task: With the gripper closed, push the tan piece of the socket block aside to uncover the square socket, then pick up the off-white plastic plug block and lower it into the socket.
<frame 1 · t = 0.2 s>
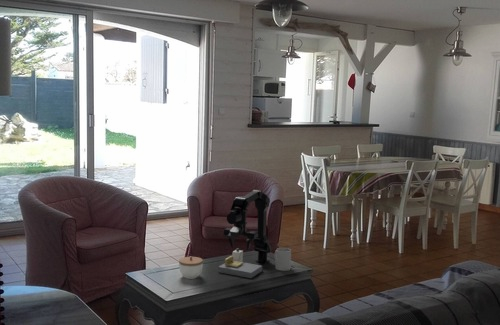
hand: (240, 248, 280), 14 cm above the table, fingers open, 9 cm apart
tan piece: (234, 261, 288), point 5 cm above the table, slide at 0.0 cm
lidded bowl: (190, 277, 276), on the table
mug: (281, 268, 295), on the table
plug: (237, 264, 299), on the table
socket block: (240, 271, 287), on the table
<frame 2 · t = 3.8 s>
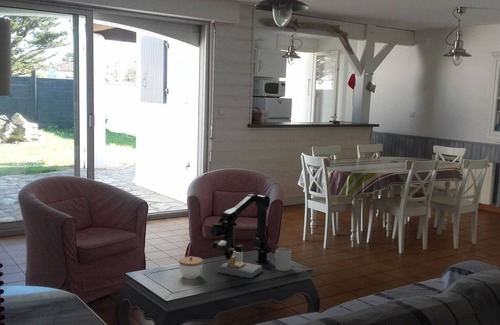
hand: (228, 261, 290), 4 cm above the table, fingers closed
tan piece: (236, 261, 287), point 5 cm above the table, slide at 1.5 cm, touching gripper
everything else where it was.
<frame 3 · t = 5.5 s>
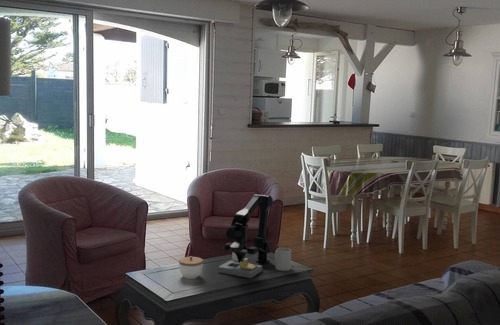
hand: (240, 263, 286), 4 cm above the table, fingers closed
tan piece: (249, 264, 284), point 5 cm above the table, slide at 9.2 cm, touching gripper
everything else where it was.
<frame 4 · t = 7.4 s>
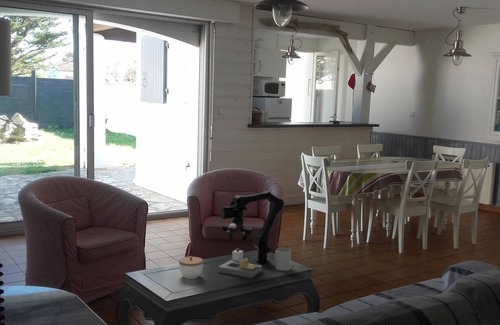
hand: (237, 244, 297), 12 cm above the table, fingers open, 6 cm apart
tan piece: (249, 264, 284), point 5 cm above the table, slide at 9.3 cm
everything else where it was.
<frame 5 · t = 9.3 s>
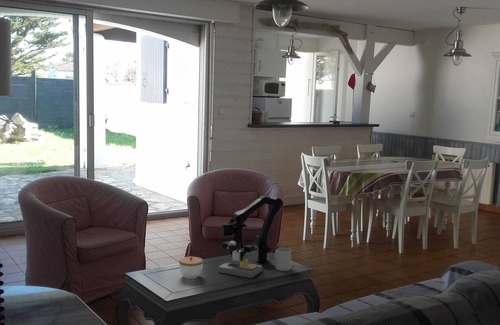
hand: (237, 261, 298), 2 cm above the table, fingers closed on plug, 4 cm apart
plug: (237, 264, 299), on the table, touching gripper
everything else where it was.
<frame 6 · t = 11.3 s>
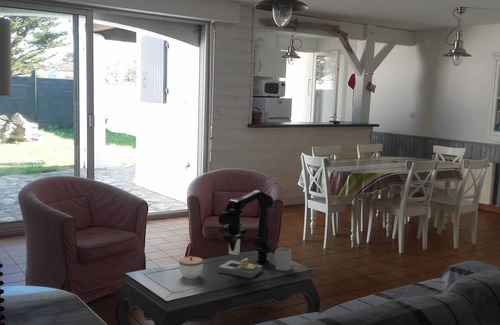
hand: (234, 249, 287), 12 cm above the table, fingers closed on plug, 4 cm apart
plug: (234, 253, 287), point 10 cm above the table, touching gripper
everything else where it was.
when the fingers open (4 cm above the table, at t = 13.3 s): plug drops 2 cm, resting in socket block.
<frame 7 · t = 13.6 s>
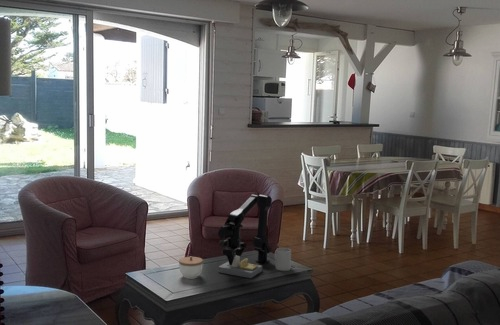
hand: (234, 263, 288), 4 cm above the table, fingers open, 8 cm apart
plug: (233, 270, 288), resting in socket block
everything else where it was.
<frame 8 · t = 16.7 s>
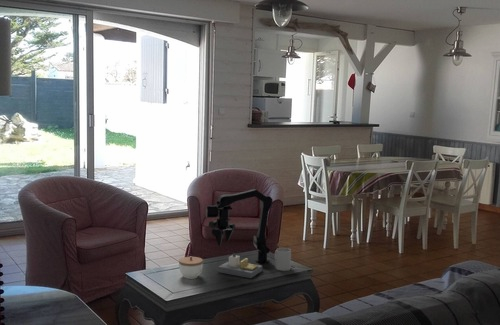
hand: (223, 243, 298), 12 cm above the table, fingers open, 9 cm apart
nothing on the table moved.
at the end: tan piece slide at 9.3 cm; plug 0.0 cm from the target spot on the socket block, point 0.0 cm above the socket block's base; plug tilted 0° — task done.
